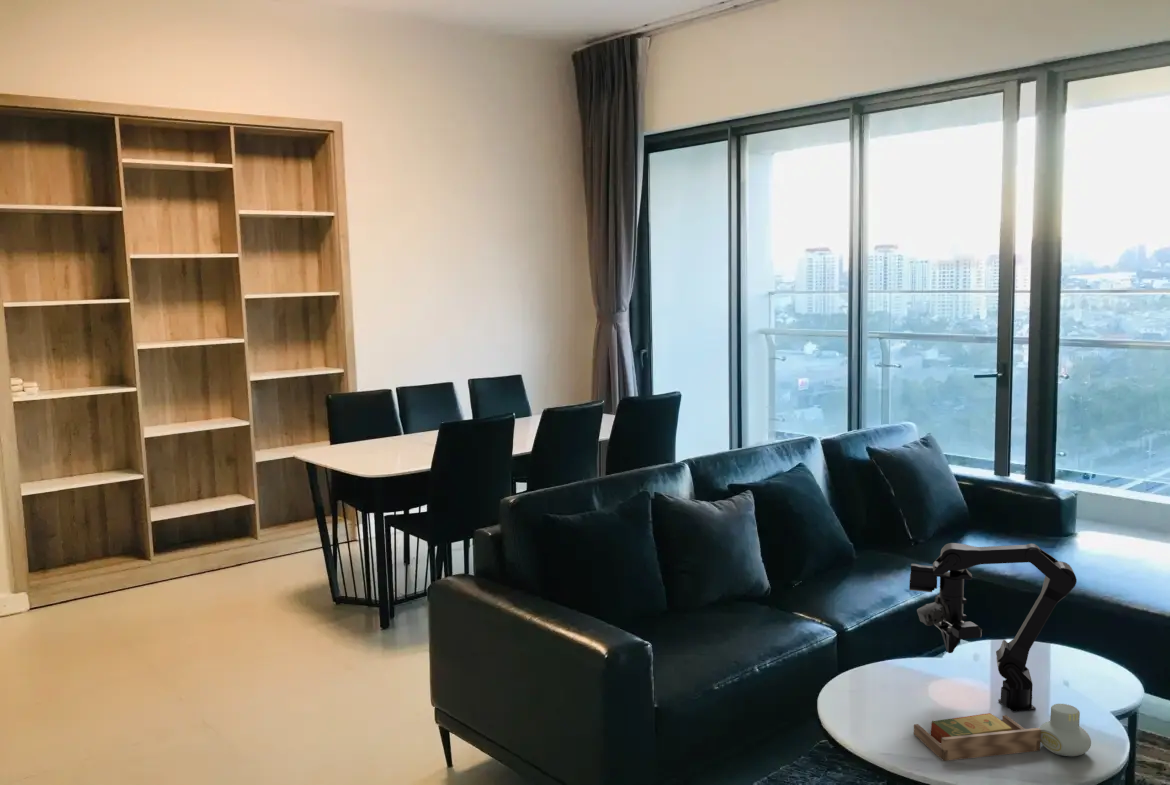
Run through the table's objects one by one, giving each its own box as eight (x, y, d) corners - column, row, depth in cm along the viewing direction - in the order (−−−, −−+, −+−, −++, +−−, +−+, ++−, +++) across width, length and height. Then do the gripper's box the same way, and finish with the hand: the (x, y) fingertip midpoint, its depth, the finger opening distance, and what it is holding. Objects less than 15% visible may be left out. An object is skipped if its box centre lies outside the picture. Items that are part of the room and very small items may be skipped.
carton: (1012, 745, 221) (1013, 727, 221) (950, 753, 217) (951, 735, 217) (989, 728, 229) (990, 711, 229) (929, 736, 226) (930, 719, 225)
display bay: (1005, 725, 230) (1006, 705, 230) (1040, 750, 217) (1041, 729, 217) (913, 734, 226) (914, 714, 226) (943, 760, 213) (943, 739, 213)
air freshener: (1097, 758, 214) (1099, 715, 213) (1069, 765, 211) (1071, 721, 210) (1057, 736, 224) (1059, 696, 223) (1030, 743, 221) (1032, 702, 220)
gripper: (903, 584, 251) (902, 641, 252) (942, 608, 232) (940, 669, 234) (942, 581, 252) (941, 638, 254) (983, 604, 234) (981, 665, 236)
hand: (949, 652), depth 245 cm, fingers closed
